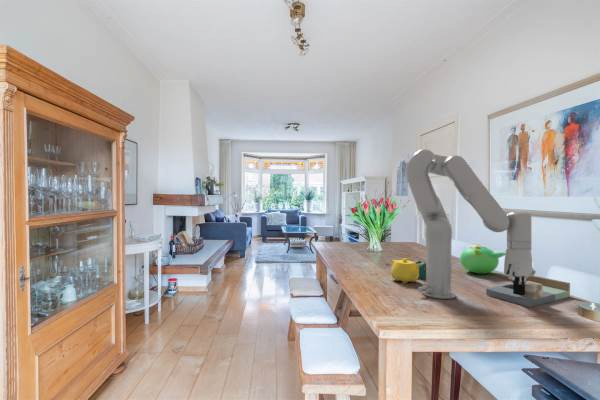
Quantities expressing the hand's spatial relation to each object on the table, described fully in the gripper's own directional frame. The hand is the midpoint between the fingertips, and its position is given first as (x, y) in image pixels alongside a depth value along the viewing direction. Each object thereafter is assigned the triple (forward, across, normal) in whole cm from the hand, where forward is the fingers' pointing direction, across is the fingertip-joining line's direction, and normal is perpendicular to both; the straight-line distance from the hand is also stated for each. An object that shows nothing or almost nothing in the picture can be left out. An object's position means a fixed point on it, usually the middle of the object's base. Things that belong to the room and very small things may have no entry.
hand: (518, 294), depth 115 cm
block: (+1, -5, +2) cm, 5 cm away
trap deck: (+4, -14, -4) cm, 15 cm away
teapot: (+4, +15, -42) cm, 45 cm away
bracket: (+4, -4, -45) cm, 45 cm away
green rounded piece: (+4, -32, -38) cm, 50 cm away
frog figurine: (+4, -37, -18) cm, 41 cm away
